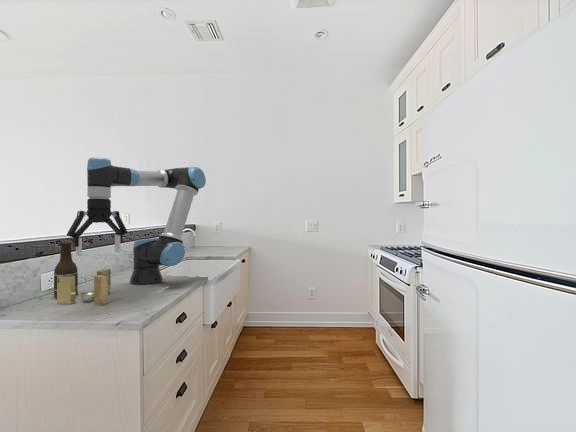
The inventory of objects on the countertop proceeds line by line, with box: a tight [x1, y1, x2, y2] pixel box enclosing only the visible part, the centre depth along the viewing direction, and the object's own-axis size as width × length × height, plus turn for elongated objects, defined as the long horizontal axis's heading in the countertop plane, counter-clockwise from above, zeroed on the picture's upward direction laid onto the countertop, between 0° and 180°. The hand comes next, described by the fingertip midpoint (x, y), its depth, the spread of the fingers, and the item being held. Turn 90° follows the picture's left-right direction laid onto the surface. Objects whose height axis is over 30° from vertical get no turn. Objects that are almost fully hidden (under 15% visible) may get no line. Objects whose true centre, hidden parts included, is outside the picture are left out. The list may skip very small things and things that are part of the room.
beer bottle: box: [53, 241, 79, 300], centre depth 118 cm, size 8×8×24 cm
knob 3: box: [93, 274, 109, 306], centre depth 109 cm, size 6×2×10 cm, turn 59°
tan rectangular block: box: [56, 275, 76, 305], centre depth 109 cm, size 6×2×10 cm, turn 84°
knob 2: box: [96, 268, 112, 295], centre depth 120 cm, size 6×2×10 cm, turn 179°
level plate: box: [80, 288, 94, 304], centre depth 113 cm, size 21×21×5 cm
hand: (99, 253), depth 108 cm, fingers open, 13 cm apart
